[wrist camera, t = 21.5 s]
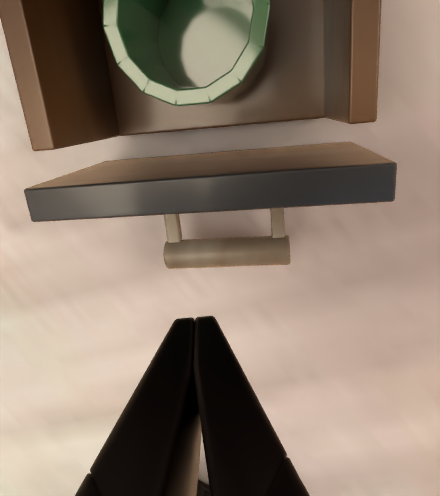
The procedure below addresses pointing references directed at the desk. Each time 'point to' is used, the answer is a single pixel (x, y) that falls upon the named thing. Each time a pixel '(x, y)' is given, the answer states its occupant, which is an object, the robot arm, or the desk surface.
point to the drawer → (201, 125)
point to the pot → (189, 47)
